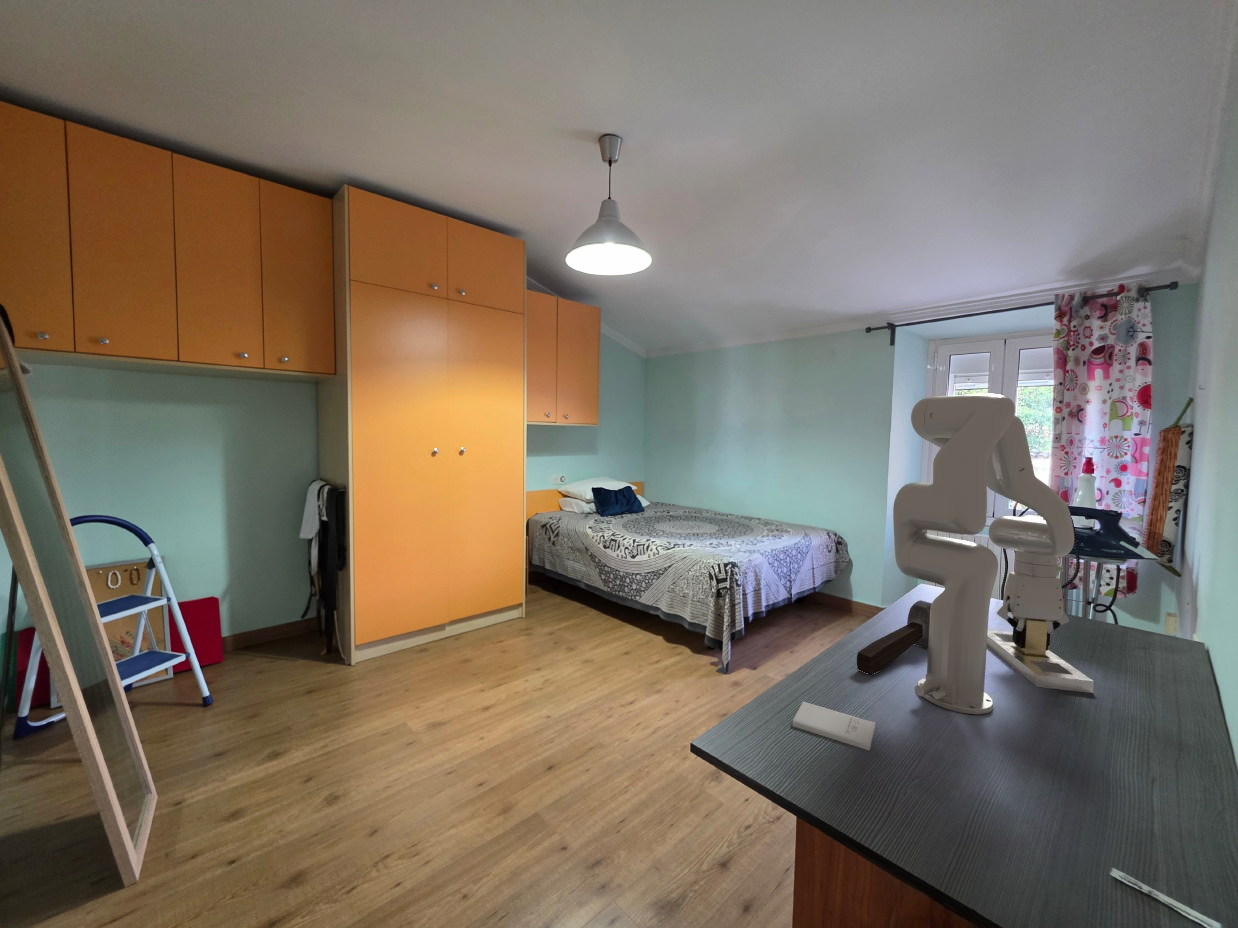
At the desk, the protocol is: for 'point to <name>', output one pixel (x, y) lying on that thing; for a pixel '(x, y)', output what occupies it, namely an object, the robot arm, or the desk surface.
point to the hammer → (897, 640)
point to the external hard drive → (835, 725)
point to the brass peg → (1034, 638)
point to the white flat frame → (1039, 665)
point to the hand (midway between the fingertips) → (1030, 646)
